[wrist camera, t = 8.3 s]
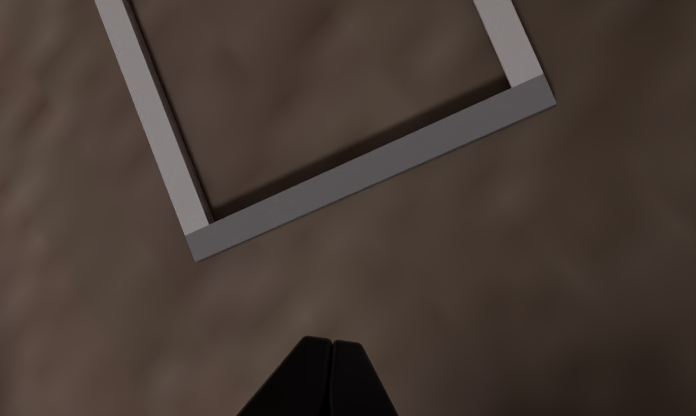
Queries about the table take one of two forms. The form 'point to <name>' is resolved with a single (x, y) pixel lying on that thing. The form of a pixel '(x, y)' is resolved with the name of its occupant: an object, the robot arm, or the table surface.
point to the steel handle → (339, 182)
